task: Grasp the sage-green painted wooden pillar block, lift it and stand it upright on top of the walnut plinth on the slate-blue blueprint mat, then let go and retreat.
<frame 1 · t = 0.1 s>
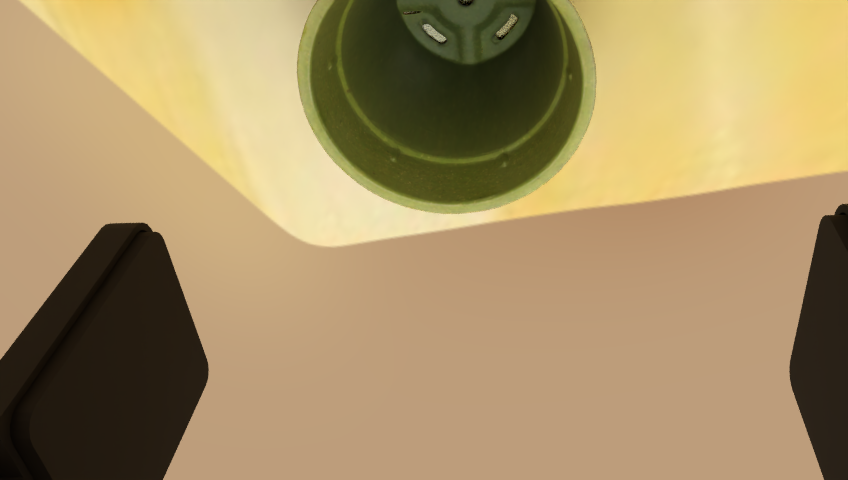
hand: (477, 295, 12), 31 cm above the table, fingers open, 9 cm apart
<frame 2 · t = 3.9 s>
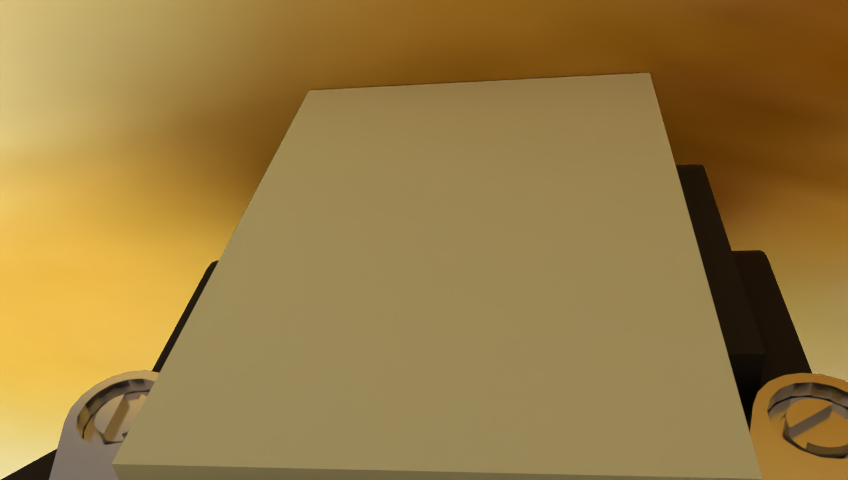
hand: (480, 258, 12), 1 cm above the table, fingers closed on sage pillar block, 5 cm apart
sage pillar block: (484, 222, 13), on the table, touching gripper
when the fingers open (7 cm above the table, at t = 10.9 s): sage pillar block drops 1 cm, resting on walnut plinth.
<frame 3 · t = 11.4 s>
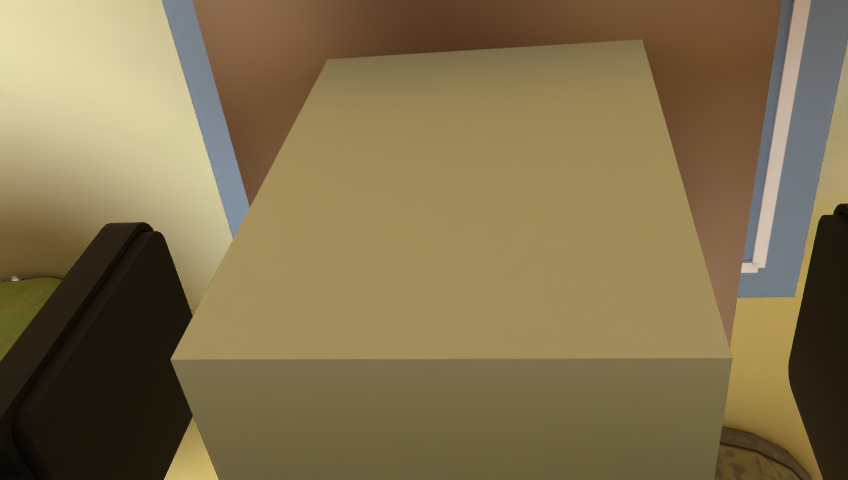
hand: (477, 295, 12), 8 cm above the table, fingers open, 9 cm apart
walnut plinth: (492, 130, 16), on the blueprint mat, point 3 cm above the table
sage pillar block: (490, 183, 14), point 5 cm above the table, touching walnut plinth
plant pot: (74, 351, 26), on the table
blueprint mat: (498, 67, 18), on the table
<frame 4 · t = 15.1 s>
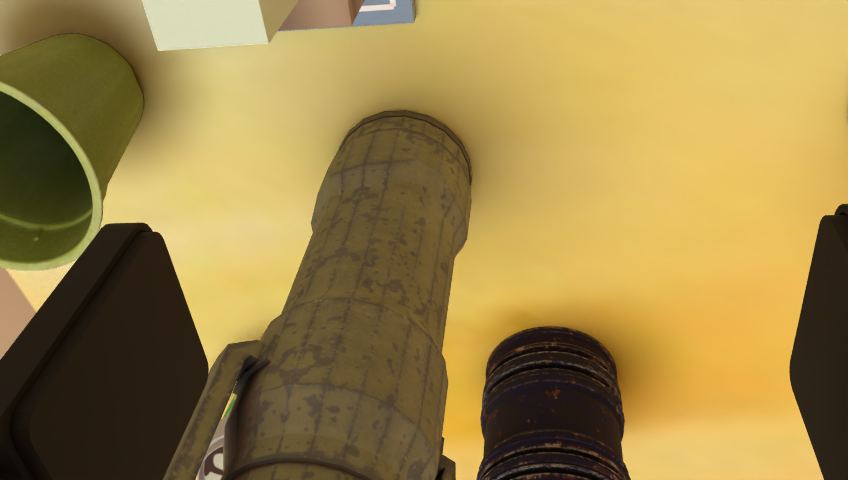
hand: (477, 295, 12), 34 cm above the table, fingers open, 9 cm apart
food container: (271, 380, 64), on the table
thermos: (403, 169, 51), on the table
storage jar: (550, 372, 60), on the table
plant pot: (88, 83, 50), on the table
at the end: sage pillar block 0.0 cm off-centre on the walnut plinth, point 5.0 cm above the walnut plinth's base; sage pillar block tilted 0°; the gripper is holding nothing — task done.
